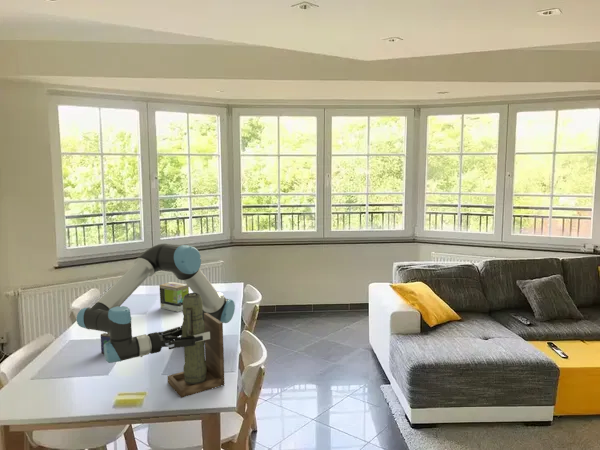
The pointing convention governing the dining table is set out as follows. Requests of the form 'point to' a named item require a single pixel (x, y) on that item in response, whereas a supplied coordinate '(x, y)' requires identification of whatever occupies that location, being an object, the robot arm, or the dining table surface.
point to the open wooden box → (213, 362)
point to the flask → (104, 340)
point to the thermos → (195, 354)
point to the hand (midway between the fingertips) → (204, 331)
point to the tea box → (173, 295)
